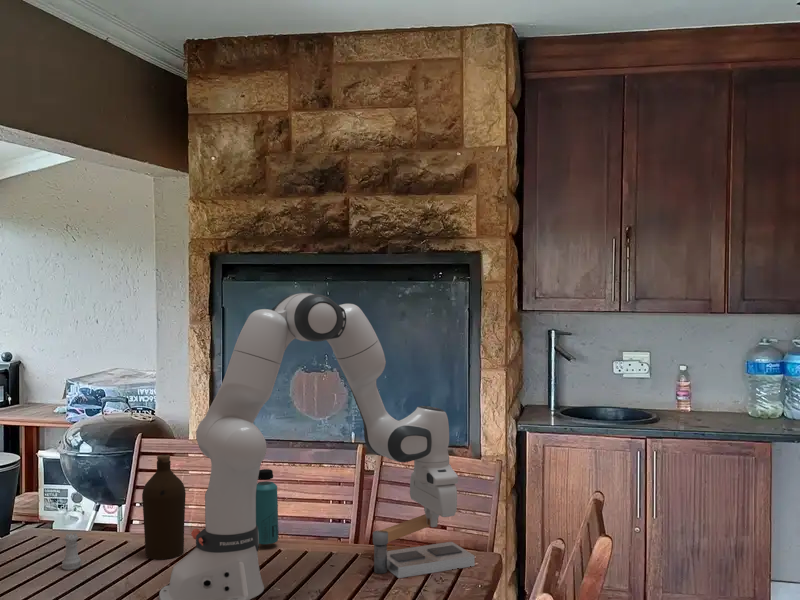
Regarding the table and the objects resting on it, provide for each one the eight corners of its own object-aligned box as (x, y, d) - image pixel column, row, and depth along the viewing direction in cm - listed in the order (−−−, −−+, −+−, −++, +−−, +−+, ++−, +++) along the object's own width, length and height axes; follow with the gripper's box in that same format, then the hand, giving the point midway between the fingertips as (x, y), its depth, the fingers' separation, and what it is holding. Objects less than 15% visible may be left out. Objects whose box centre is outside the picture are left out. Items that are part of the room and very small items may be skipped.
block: (384, 580, 188) (384, 552, 188) (365, 564, 199) (365, 537, 199) (474, 565, 198) (474, 539, 198) (451, 551, 209) (451, 525, 209)
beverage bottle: (273, 551, 210) (273, 473, 210) (249, 549, 211) (248, 472, 211) (282, 543, 216) (281, 467, 216) (258, 541, 218) (258, 466, 217)
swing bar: (381, 546, 192) (381, 535, 192) (369, 543, 194) (369, 533, 194) (440, 523, 210) (440, 514, 210) (428, 520, 212) (428, 511, 212)
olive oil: (193, 554, 208) (192, 455, 208) (154, 563, 201) (153, 462, 201) (173, 544, 216) (172, 449, 216) (135, 553, 209) (134, 455, 208)
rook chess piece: (57, 568, 198) (57, 535, 198) (72, 563, 202) (72, 530, 202) (70, 571, 196) (70, 538, 196) (85, 566, 200) (85, 533, 200)
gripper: (403, 463, 214) (403, 516, 214) (438, 480, 195) (438, 538, 195) (425, 461, 216) (425, 513, 216) (461, 478, 197) (461, 535, 197)
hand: (432, 525), depth 205 cm, fingers closed
